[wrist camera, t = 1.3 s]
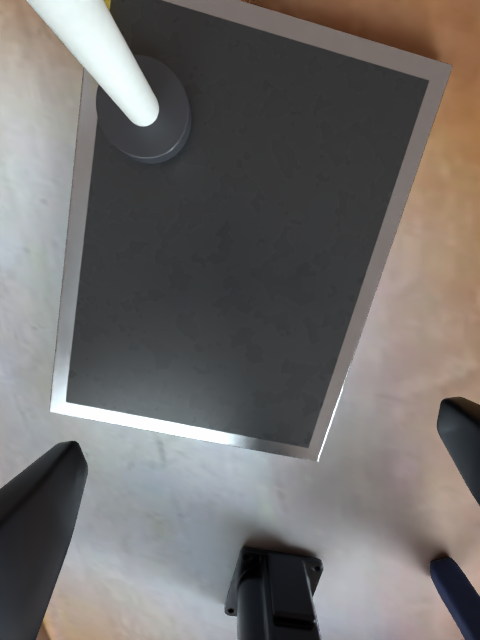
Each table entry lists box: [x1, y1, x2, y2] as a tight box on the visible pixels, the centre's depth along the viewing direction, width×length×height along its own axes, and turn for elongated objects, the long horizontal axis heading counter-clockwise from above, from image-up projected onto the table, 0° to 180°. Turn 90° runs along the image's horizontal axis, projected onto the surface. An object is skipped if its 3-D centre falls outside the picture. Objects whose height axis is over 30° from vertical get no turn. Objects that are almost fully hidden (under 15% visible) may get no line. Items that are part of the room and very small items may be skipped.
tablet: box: [49, 0, 453, 462], centre depth 19 cm, size 24×18×1 cm
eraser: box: [430, 558, 480, 640], centre depth 23 cm, size 2×2×7 cm
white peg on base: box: [26, 0, 192, 164], centre depth 10 cm, size 4×4×13 cm
